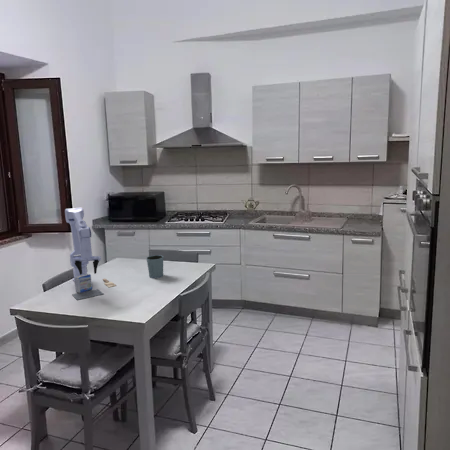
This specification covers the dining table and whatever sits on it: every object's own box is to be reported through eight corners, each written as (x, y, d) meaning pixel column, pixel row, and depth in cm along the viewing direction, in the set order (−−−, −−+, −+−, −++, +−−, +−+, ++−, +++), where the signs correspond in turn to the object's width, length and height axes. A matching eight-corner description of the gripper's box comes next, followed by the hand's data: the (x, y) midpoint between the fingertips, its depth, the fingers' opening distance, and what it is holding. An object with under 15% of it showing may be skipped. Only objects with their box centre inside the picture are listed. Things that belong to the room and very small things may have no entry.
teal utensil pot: (166, 273, 251) (165, 255, 249) (162, 278, 241) (160, 259, 239) (150, 273, 252) (149, 255, 250) (145, 278, 242) (144, 259, 240)
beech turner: (100, 281, 240) (100, 279, 240) (107, 279, 243) (107, 277, 243) (108, 287, 228) (108, 286, 228) (116, 286, 231) (116, 284, 230)
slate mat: (72, 295, 218) (72, 294, 218) (98, 289, 225) (98, 288, 225) (77, 300, 210) (77, 299, 210) (103, 294, 217) (103, 293, 217)
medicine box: (80, 293, 219) (78, 277, 218) (75, 292, 222) (73, 276, 221) (92, 289, 225) (90, 274, 224) (88, 288, 228) (86, 273, 227)
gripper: (70, 252, 215) (72, 276, 217) (97, 250, 216) (100, 275, 218) (73, 249, 222) (76, 272, 224) (100, 247, 223) (102, 271, 225)
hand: (88, 273), depth 222 cm, fingers open, 7 cm apart
